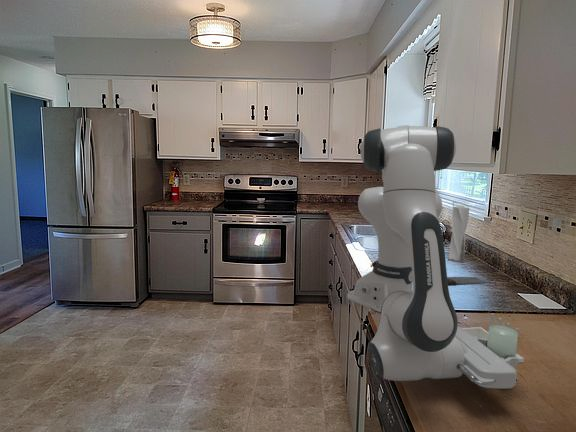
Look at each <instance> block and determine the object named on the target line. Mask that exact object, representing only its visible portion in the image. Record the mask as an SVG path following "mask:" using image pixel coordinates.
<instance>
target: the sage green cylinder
mask: <svg viewBox="0 0 576 432" xmlns="http://www.w3.org/2000/svg"><path fill="white" fill-rule="evenodd" d="M489 326H490V325H489ZM489 326H488V331H487V332H488V341H487V348H488V349H490V350H491V351H492V352H494V353H495V354H496V355H497V356H499V357H500V358H504V359H506V355H513V356H515V355H516V347H517V348H518V345H517V339H518V340H519V336H518V332H517V331H515V329H513V328H511V327H510V328H509V327H506V326H505V325H498V324H493V325H492V326H490V327H489ZM512 367H513V368H514V369H515V366H512Z"/></svg>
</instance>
